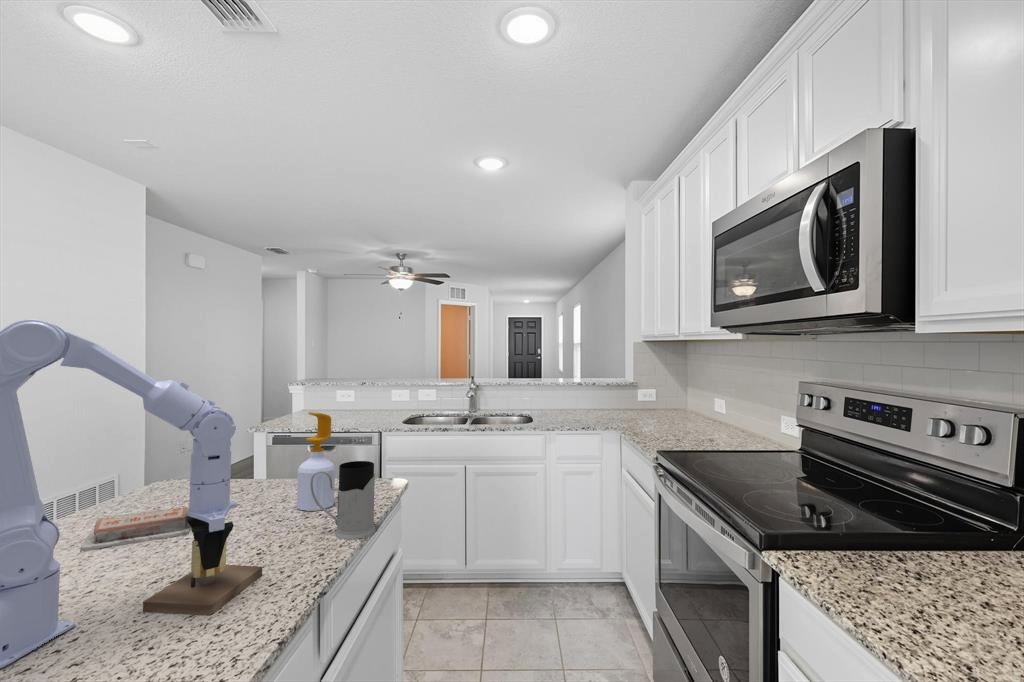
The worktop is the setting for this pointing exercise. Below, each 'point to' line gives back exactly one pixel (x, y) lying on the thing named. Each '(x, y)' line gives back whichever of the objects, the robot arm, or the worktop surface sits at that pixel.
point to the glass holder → (353, 500)
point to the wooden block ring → (197, 565)
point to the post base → (202, 591)
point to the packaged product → (137, 528)
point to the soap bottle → (315, 465)
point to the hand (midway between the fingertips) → (207, 562)
